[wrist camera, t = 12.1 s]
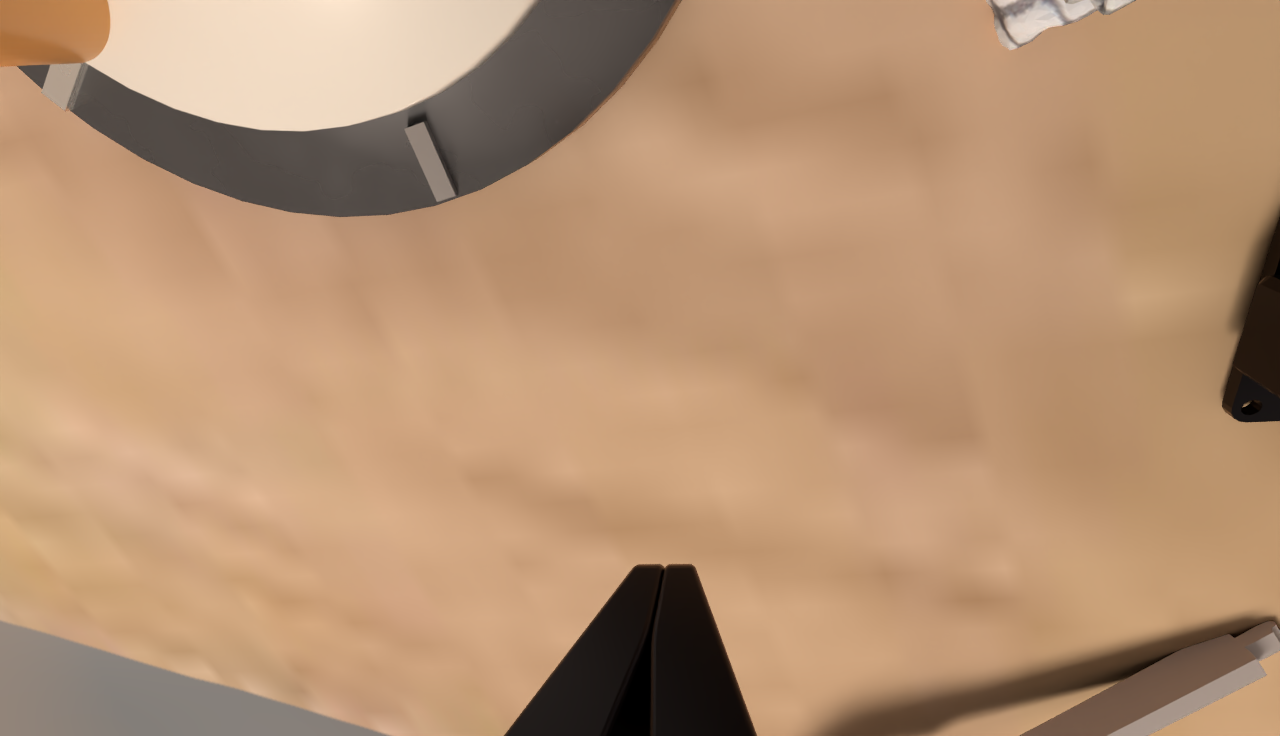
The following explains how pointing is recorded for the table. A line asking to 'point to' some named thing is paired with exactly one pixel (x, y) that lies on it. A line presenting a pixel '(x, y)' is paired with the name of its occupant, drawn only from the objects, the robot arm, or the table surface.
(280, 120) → the dial
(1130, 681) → the caliper
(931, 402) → the table surface
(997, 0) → the towel
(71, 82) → the dial plate
